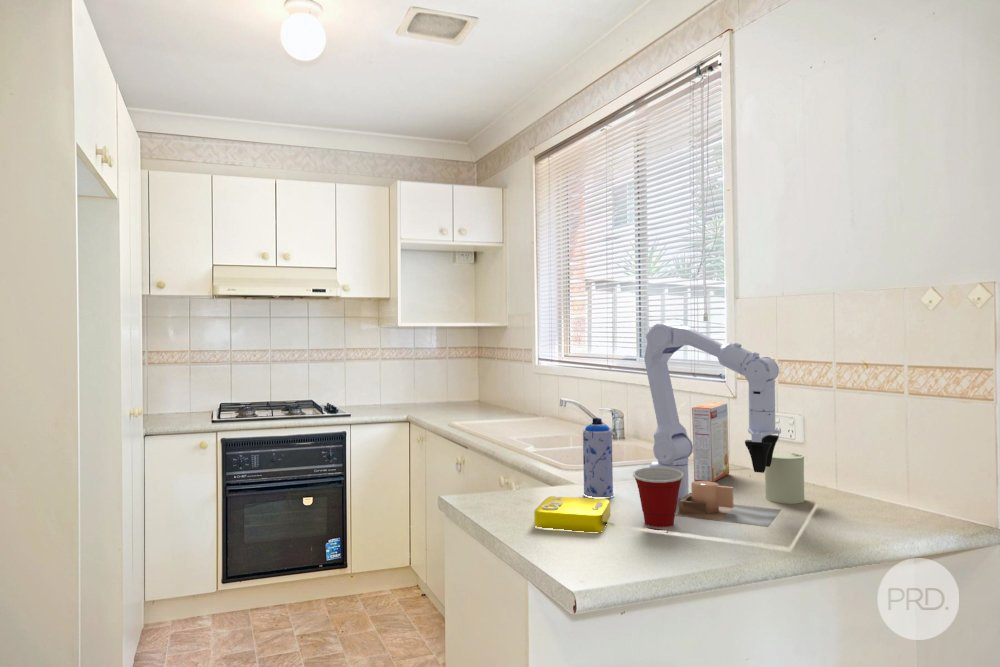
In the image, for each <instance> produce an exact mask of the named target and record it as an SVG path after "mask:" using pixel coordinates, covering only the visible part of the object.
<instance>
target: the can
mask: <svg viewBox="0 0 1000 667" xmlns="http://www.w3.org/2000/svg"><path fill="white" fill-rule="evenodd" d="M764 499H765V500H767V501H769V502H772V503H778V504H786V505H787V504H789V505H790V504H801V503H804V502H805V500H806V499H805V455H804V454H802V453H797V452H796V453H795V452H791V451H790V452H788V451H786V452H785V451H773V456H772V461H771V465H770V467H766V468H765V472H764Z"/></svg>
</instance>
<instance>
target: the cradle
mask: <svg viewBox="0 0 1000 667" xmlns="http://www.w3.org/2000/svg"><path fill="white" fill-rule="evenodd" d="M781 511H782V509H780V508H773V507H772V508H771V507H761V506H755V505H753V506H751V505H742V504H736V503H734V507H733V508H728V507H719V511H718V512H715V513H706V503H701V502H692V492H689V494H688V495H686V496H685V497H684V498H680V499H679V500H678V512H677V513H675V516H677V517H684V518H692V519H700V520H709V521H718V522H726V523H731V524H732V523H733V524H740V525H750V526H751V525H752V526H758V527H765V528H768V527H769V526H771V524H772V523H773V521H774V520H775V518H776V517H777V515H779V513H780V512H781Z"/></svg>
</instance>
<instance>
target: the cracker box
mask: <svg viewBox="0 0 1000 667" xmlns="http://www.w3.org/2000/svg"><path fill="white" fill-rule="evenodd" d="M728 414H729V413H728V403H727V402H712V401H711V402H707V403H703V404H700V405H697V406H692V407H691V415H692V416H691V417H692V418H691V420H692V445H693V451H692V454H693V479H694V482H696V481H710V482H715V483H716V482H717V481H718V480H721V479H722V478H723V477H725V476H727V475H729V474H730V461H729V460H730V451H729V420H728V419H729V418H728Z"/></svg>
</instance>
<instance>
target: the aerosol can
mask: <svg viewBox="0 0 1000 667" xmlns="http://www.w3.org/2000/svg"><path fill="white" fill-rule="evenodd" d="M602 421H603V420H602V418H600V417H594V418H592V422H590V423H589V424H587V425H586V427H585V428H584V429H583V431H582V447H583V448H582V450H583V451H582V453H583V455H582V457H583V493H584V494H585V495H587V496H592V497H611V496H613V495H614V484H613V483H614V481H613V480H614V478H613V477H614V476H613V475H614V474H613V433H612V429H611V428H610V427H609V426H608V425H606V424H605V423H604V422H602Z"/></svg>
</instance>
